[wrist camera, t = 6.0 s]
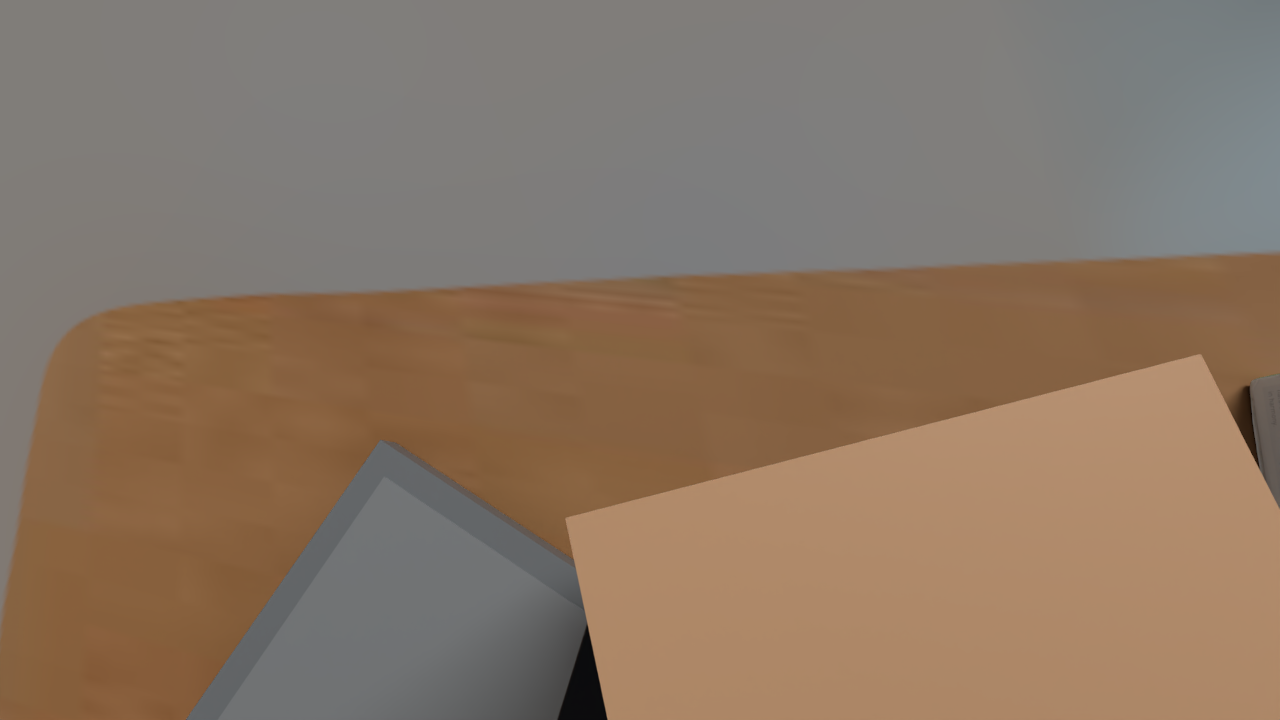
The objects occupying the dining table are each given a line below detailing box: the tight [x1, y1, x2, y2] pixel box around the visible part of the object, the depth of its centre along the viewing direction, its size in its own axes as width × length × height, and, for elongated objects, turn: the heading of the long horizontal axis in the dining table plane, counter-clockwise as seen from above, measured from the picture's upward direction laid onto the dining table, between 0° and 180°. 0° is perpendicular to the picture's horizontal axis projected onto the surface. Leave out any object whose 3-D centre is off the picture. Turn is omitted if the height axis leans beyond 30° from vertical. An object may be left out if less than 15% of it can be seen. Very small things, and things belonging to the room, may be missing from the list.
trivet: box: [186, 440, 587, 720], centre depth 20 cm, size 12×12×1 cm
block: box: [565, 354, 1280, 720], centre depth 9 cm, size 5×5×12 cm
